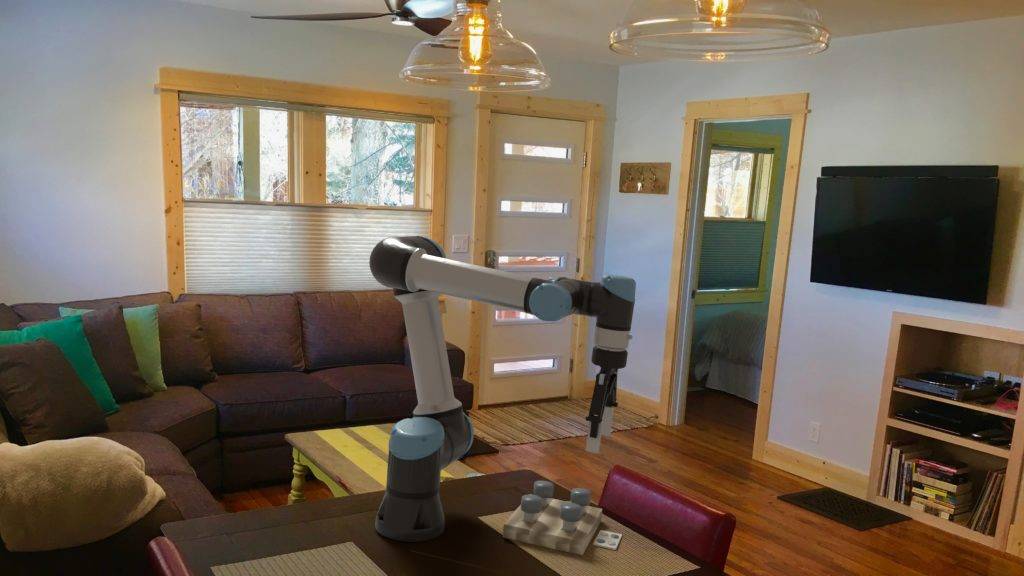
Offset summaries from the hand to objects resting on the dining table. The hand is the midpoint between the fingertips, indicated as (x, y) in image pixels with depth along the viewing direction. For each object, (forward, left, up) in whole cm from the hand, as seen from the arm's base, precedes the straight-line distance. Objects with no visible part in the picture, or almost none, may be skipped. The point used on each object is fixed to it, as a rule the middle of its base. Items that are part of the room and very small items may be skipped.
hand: (598, 443), depth 163 cm
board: (-9, +3, -23) cm, 24 cm away
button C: (-4, -2, -20) cm, 21 cm away
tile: (+4, +3, -23) cm, 23 cm away
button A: (-13, -2, -20) cm, 24 cm away
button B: (-13, +8, -20) cm, 26 cm away
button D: (-4, +8, -20) cm, 22 cm away
